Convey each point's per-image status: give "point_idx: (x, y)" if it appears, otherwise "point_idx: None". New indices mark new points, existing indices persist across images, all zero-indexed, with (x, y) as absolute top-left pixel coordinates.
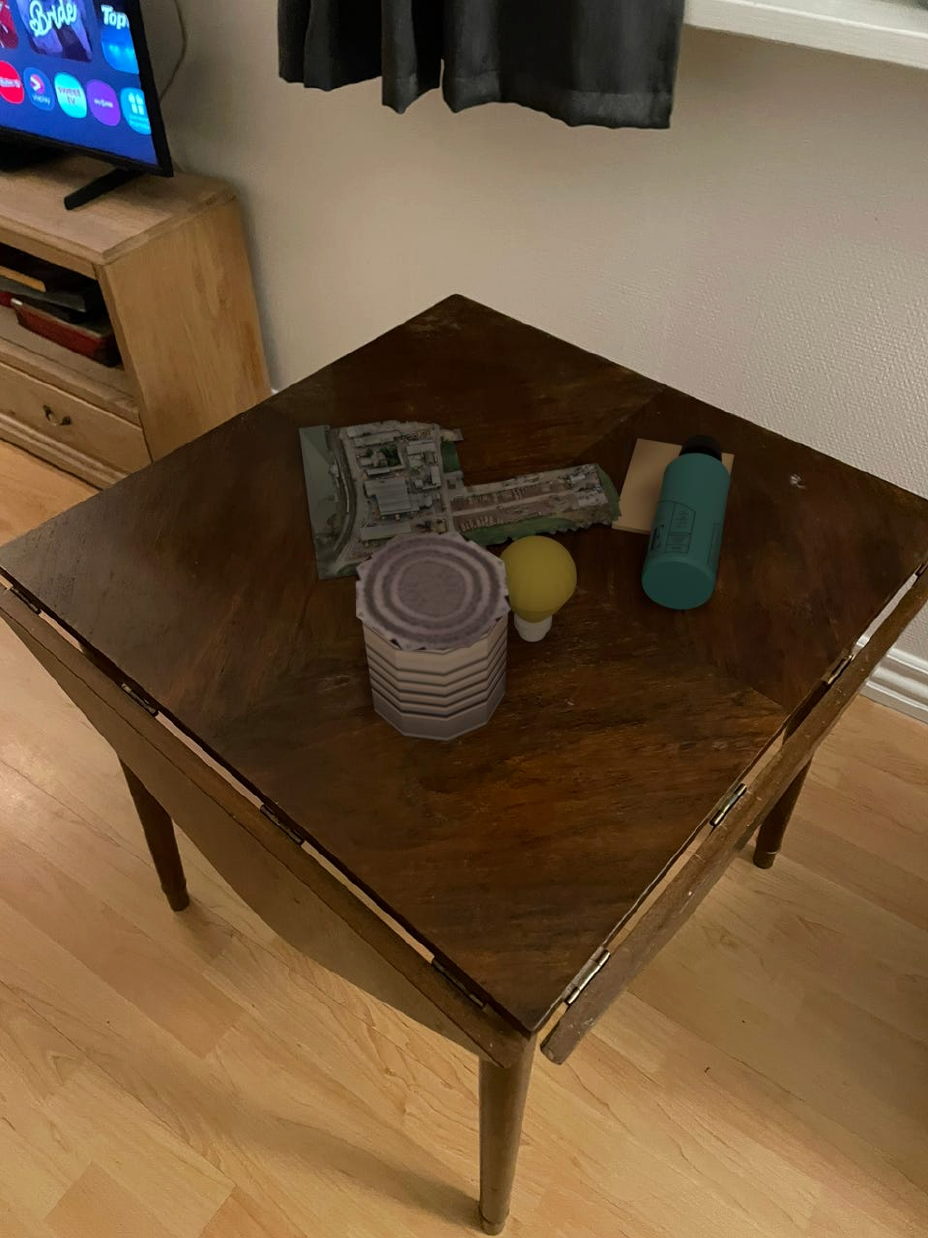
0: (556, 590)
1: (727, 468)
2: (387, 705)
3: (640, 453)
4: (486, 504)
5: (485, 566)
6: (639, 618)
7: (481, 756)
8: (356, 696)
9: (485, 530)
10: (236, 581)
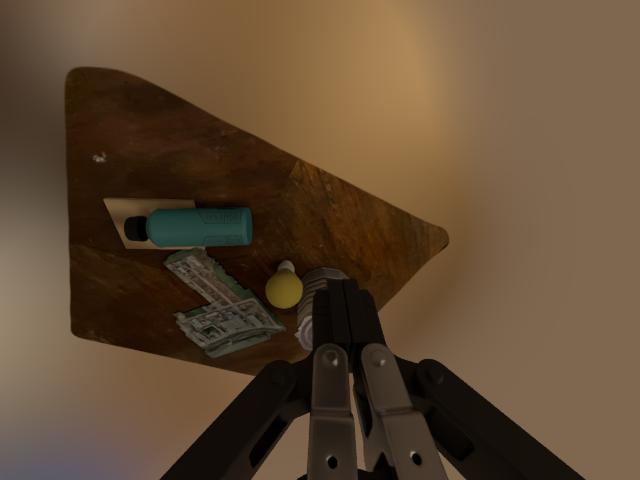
0: (296, 285)
1: (120, 201)
2: None
3: (138, 245)
4: (219, 295)
5: (310, 321)
6: (262, 228)
7: (353, 267)
8: None
9: (236, 292)
10: (295, 345)
